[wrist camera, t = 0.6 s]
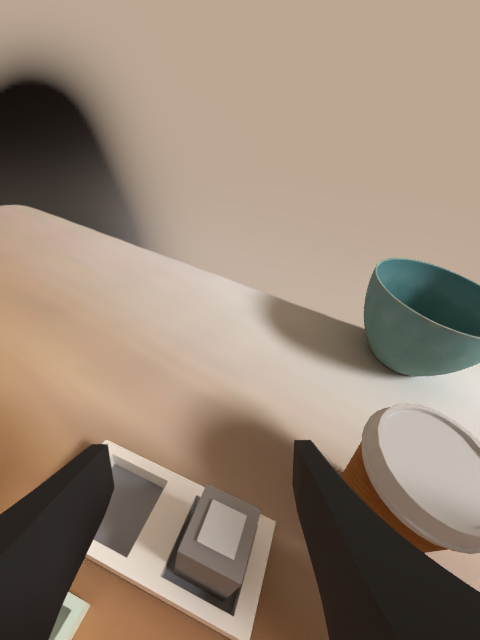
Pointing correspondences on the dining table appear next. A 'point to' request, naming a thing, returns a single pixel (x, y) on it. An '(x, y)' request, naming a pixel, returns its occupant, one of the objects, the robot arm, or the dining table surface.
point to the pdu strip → (170, 544)
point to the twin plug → (217, 543)
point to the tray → (69, 618)
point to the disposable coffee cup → (420, 477)
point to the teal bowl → (422, 318)
